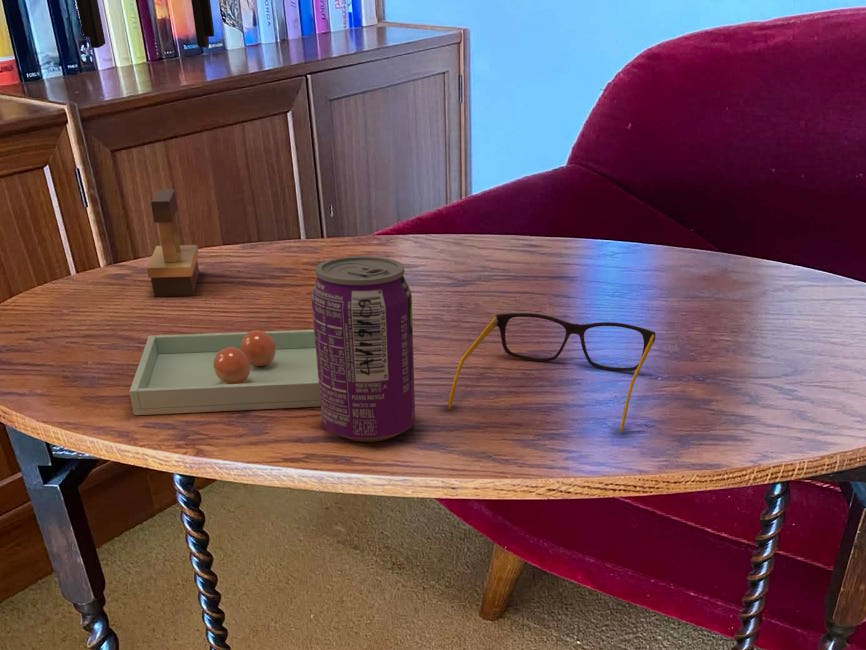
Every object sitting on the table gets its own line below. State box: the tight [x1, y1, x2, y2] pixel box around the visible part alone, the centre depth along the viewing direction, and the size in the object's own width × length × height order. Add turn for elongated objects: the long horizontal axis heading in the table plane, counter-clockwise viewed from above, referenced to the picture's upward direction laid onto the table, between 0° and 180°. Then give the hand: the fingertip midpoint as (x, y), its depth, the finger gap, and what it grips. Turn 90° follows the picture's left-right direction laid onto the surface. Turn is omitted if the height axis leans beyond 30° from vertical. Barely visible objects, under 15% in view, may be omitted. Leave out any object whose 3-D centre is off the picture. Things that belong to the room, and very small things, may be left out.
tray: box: [128, 329, 321, 416], centre depth 81 cm, size 18×13×2 cm
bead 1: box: [213, 347, 251, 384], centre depth 79 cm, size 3×3×3 cm
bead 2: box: [240, 329, 276, 367], centre depth 82 cm, size 3×3×3 cm
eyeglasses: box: [447, 312, 657, 433], centre depth 80 cm, size 14×14×4 cm
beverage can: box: [310, 255, 416, 443], centre depth 70 cm, size 7×7×12 cm
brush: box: [146, 188, 200, 298], centre depth 102 cm, size 4×9×9 cm, turn 9°
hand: (151, 46), depth 90 cm, fingers open, 9 cm apart
